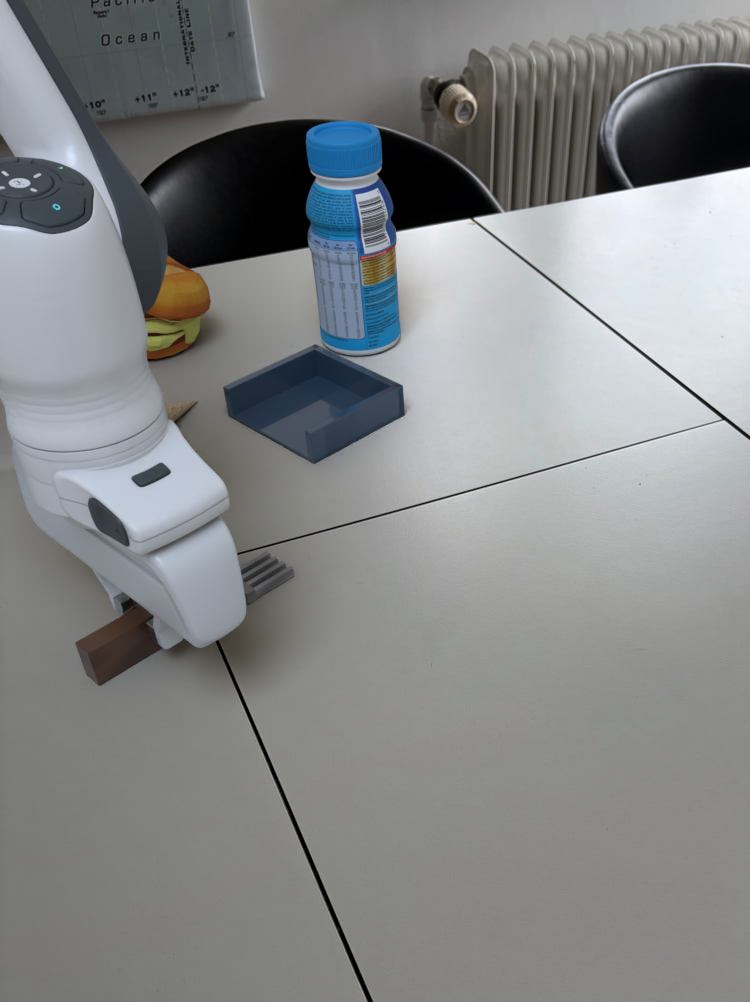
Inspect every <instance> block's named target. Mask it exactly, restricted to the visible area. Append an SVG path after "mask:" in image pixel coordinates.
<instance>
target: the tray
mask: <svg viewBox="0 0 750 1002" xmlns="http://www.w3.org/2000/svg"><path fill="white" fill-rule="evenodd" d="M222 390H223V394H224V399H225V404H226V405H225V406H226V410H227V415H228V417H230V418H232V419H234V420H236V421H237V422H238V423H241V424H243V425H244V426H246V427H248V428H249V429H252V430H253V431H255V432H257V433H259V434H260V435H262V436H264V437H266V438H268V439H269V440H271V441H272V442H275V443H276V444H278V445H280V446H282V447H283V448H286V449H287V450H289V451H291V452H293V453H294V454H296V455H298V456H300V457H301V458H303V459H305V460H307V461H309V462H310V463H312V464H313V465H315V464H317V463H318V462H320V461H322V460H324V459H326V458H328V457H330V456H331V455H333V454H335V453H337V452H338V451H341V450H343V449H344V448H346V447H348V446H350V445H352V444H354V443H356V442H358V441H359V440H361V439H362V438H365V437H366V436H369V435H370V434H372V433H374V432H376V431H378V430H380V429H381V428H383V427H385V426H387V425H389V424H391V423H392V422H394V421H397V420H399V419H400V418H402V417H404V416H406V410H405V394H404V385H403V384H401V383H398V382H396V381H394V380H392V379H390V378H388V377H386V376H384V375H382V374H380V373H378V372H375V371H373V370H372V369H369V368H367V367H364V366H362V365H361V364H359V363H356V362H355V361H352V360H350V359H347V358H346V357H343V356H341V355H339V354H338V353H336V352H334V351H332V350H330V349H327V348H324V347H323V346H320V345H319V344H316V343H314V344H313V345H310V346H308V347H306V348H304V349H302V350H299V351H297V352H295V353H293V354H290V355H288V356H286V357H284V358H282V359H280V360H278V361H275V362H273V363H271V364H269V365H267V366H265V367H262V368H260V369H258V370H256V371H253V372H251V373H249V374H247V375H245V376H243V377H241V378H238V379H236V380H234V381H231V382H230V383H228V384H225V385H223V386H222Z"/></svg>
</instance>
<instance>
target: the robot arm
mask: <svg viewBox="0 0 750 1002" xmlns="http://www.w3.org/2000/svg"><path fill="white" fill-rule="evenodd" d="M0 135H1V136H2V138H3V140H4V142H5V143H6V145H7V146H8V147H9V149H10V151H11V153H12V154H13V156H4V157H0V401H1V403H2V405H3V408H4V412H5V419H6V421H5V422H6V428H7V431H8V434H9V436H10V439H11V442H12V445H11V459H12V463H13V468H14V472H15V475H16V479H17V482H18V486H19V489H20V493H21V496H22V498H23V502H24V505H25V508H26V510H27V512H28V515H29V516H30V518H31V520H32V521H33V522H34V524H35V525H36V526H37V528H38V529H39V530H40V531H42V532H43V533H45V534H46V535H47V536H48V537H50V538H51V539H53V540H54V541H55V542H57V543H58V544H59V545H60V546H61V547H63V548H64V549H66V550H67V551H68V552H70V553H71V554H73V555H74V556H75V557H76V558H78V559H79V560H80V561H81V562H82V563H84V564H85V565H87V567H89V568H91V571H92V572H93V574H94V575H95V577H96V578H97V579H98V581H99V583H100V585H101V586H102V587H103V588H104V590H105V592H106V594H108V597H109V600H110V603H111V606H112V609H113V610H114V611H115V612H116V613H118V614H119V615H120V616H123V615H124V614H126V613H128V612H130V611H131V610H133V609H135V608H137V607H138V606H140V605H141V606H142V607H144V608H145V609H146V610H148V611H149V613H151V614H152V615H153V616H154V618H153V619H151V620H150V621H148V622H146V624H147V628H148V631H149V632H150V638H151V639H153V640H154V641H155V642H156V643H158V644H159V645H160V646H161V647H162V648H161V649H163V650H169V649H171V648H173V647H174V646H176V645H178V644H179V643H181V642H182V641H183V640H186V641H187V642H188V643H189V644H191V645H192V646H193V647H195V648H198V649H202V648H206V647H208V646H210V645H212V644H213V643H215V642H217V641H219V640H221V639H222V638H224V637H225V636H226V635H228V634H230V633H231V632H233V631H234V630H235V629H236V628H238V627H239V626H240V625H241V624H242V622H243V621H244V620H245V618H246V616H247V603H246V599H245V592H244V586H243V580H242V575H241V570H240V567H241V565H240V560H239V556H238V551H237V548H236V543H235V541H234V538H233V535H232V533H231V531H230V529H229V527H228V526H227V525H228V524H226V522H225V520H224V519H223V518H222V517H221V516H220V515H222V514H223V513H224V512H226V511H228V510H229V509H230V505H231V502H230V495H229V491H228V488H227V485H226V484H225V483H226V482H224V481H223V479H222V478H221V477H220V476H219V475H218V473H216V471H215V470H214V469H213V468H211V466H209V465H208V464H207V462H205V460H203V458H201V457H200V455H199V454H198V453H197V452H196V451H195V450H194V449H193V447H192V445H190V443H189V442H188V441H187V439H186V438H185V437H184V435H183V433H182V432H181V430H180V428H179V427H178V425H177V424H176V423H175V421H174V422H173V421H172V420H170V419H168V415H167V411H166V407H165V404H166V403H165V398H164V394H163V391H162V390H161V387H160V385H159V383H158V381H157V379H156V378H155V376H154V375H153V373H152V371H151V368H150V366H149V361H148V359H147V341H148V333H147V327H146V322H145V318H144V314H145V313H147V312H148V311H149V310H150V309H151V308H152V307H153V305H154V303H155V302H156V299H157V297H158V295H159V292H160V289H161V286H162V283H163V279H164V275H165V270H166V265H167V255H168V249H169V248H168V238H167V233H166V230H165V229H166V228H165V226H164V223H163V221H162V218H161V216H160V213H159V212H158V210H157V208H156V206H155V204H154V203H153V201H152V199H151V198H150V196H149V194H148V193H147V192H146V191H145V189H144V187H143V186H142V185H141V184H140V182H139V181H138V180H137V178H136V177H135V176H134V174H133V173H132V172H131V171H130V170H129V168H128V167H127V165H126V164H125V162H123V161H122V159H121V158H120V156H118V154H117V152H116V151H115V150H114V149H113V147H112V146H111V144H110V143H109V142H108V141H107V139H106V137H105V136H104V134H103V133H102V131H101V130H100V127H98V125H97V123H96V122H95V120H94V118H93V116H92V115H91V113H90V111H89V110H88V108H87V106H86V104H85V103H84V100H83V99H82V98H81V96H80V94H79V93H78V91H77V89H76V87H75V86H74V84H73V82H72V80H71V79H70V77H69V76H68V74H67V71H66V70H65V69H64V67H63V64H62V63H61V62H60V60H59V58H58V56H57V54H56V53H55V52H54V49H53V48H52V46H51V44H50V43H49V41H48V39H47V38H46V36H45V34H44V33H43V31H42V28H41V27H40V26H39V24H38V22H37V21H36V19H35V17H34V15H33V13H32V12H31V10H30V9H29V7H28V5H27V4H26V2H25V0H0Z"/></svg>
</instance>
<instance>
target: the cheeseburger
mask: <svg viewBox="0 0 750 1002" xmlns="http://www.w3.org/2000/svg"><path fill="white" fill-rule="evenodd" d="M211 302H212V301H211V295H210V289H209V286H208V285H207V283H206V281H205V280H204V277H203V276H202V275H201V273H199V272H197V271H194V270H193V269H191V268H189V267H187V266H186V265H183V264H181V263H180V262H178V261H177V260H175V259H174V258H172V257H171V256H170V255H168V254H167V265H166V270H165V275H164V279H163V283H162V286H161V289H160V292H159V295H158V297H157V299H156V302H155V303H154V305H153V307H152V308H151V309H150V310H149V311H148V312H147V313H145V314H144V318H145V322H146V327H147V333H148V341H147V360H152V359H153V360H158V359H163V358H166V357H171V356H175V355H177V354H178V353H180V352H182V351H185V350H187V349H188V348H190V347H191V346H192V344H194V343H195V341H196V340H197V337H198V335H199V333H200V331H201V320H202V316H203V315H204V314H206V313H207V312H208V311H209V310H210V307H211Z"/></svg>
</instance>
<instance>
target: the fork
mask: <svg viewBox="0 0 750 1002" xmlns="http://www.w3.org/2000/svg"><path fill="white" fill-rule="evenodd" d="M271 556H272V555H271V553H270V552H269V551H268V550H266V551H264V552H262V553H261V554H260V555H258V556H256V557H254V558H253V559H250V560H249V561H247V562H245V563H244V564H242V565H240V570H241V575H242V580H243V586H244V592H245V599H246V605H247V604H248V605H250V604H252V603H253V602H255V601H256V600H258V599H259V598H261V597H263V596H265V595H266V594H267V593H269V592H270V591H272V590H274V589H275V588H277V587H279V586H280V585H282V584H284V583H285V582H288V581H289V580H290V579H292V578H294V577H295V571H294V567H292V566H291V565H289V566H287V564H286V562H284V561H283V560H281V561H279V558H278V557H277V556H276V555H273V556H272V557H271ZM153 618H154V616H153V615H152V614H151V613H149V611H148V610H146V609H145V608H144V607H142V606H141V605H140V606H138V607H137V608H135V609H133V610H131V611H130V612H128V613H126V614H124V615H123V616H122V615H120V616H119V617H117V618H116V619H114V620H112V621H110V622H109V623H107V624H105V625H103V626H101V627H100V628H98V629H96V630H95V631H93V632H91V633H89V634H87V635H86V636H84V637H82V638H81V639H79V640H77V641H75V642H74V644H75V647H76V650H77V652H78V653H77V654H78V656H79V659H80V661H81V663H82V666H83V670H84V671H85V674H86V676H87V677H88V678H89V679H91V680H92V682H94V683H95V684H97V685H98V686H101V685H104V684H105V683H106V682H108V681H110V680H111V679H113V678H115V677H117V676H118V675H120V674H121V673H123V672H125V671H127V670H128V669H130V668H132V667H133V666H134V665H136V664H138V663H139V662H141V661H143V660H144V659H146V658H148V657H150V656H152V655H153V654H154V653H156V652H158V651H160V650H161V649H163V648H162V647H161V646H160V645H159V644H158V643H156V642H155V641H154V640H153V639H151V638H150V632H149V631H148V628H147V624H146V622H148V621H150V620H151V619H153Z"/></svg>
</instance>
